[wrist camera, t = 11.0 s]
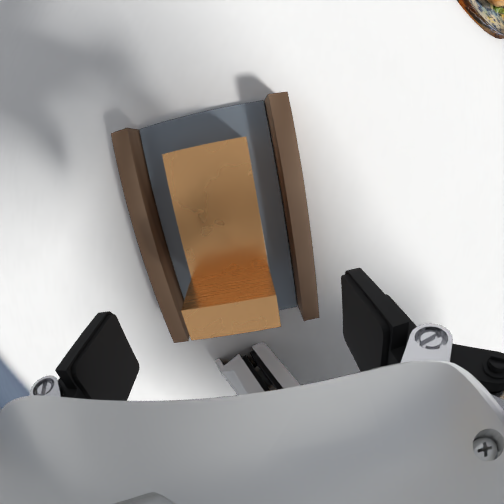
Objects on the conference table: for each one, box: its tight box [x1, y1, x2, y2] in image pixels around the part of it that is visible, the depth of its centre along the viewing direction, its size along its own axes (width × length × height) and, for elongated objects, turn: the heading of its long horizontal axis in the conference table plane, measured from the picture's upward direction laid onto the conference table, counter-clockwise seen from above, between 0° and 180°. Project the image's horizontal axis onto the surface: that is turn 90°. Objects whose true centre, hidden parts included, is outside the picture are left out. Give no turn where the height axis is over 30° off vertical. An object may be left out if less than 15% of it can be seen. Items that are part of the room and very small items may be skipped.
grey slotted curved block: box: [215, 342, 300, 395], centre depth 23 cm, size 17×5×10 cm, turn 23°
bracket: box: [162, 137, 281, 340], centre depth 17 cm, size 10×5×7 cm, turn 10°
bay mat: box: [140, 101, 297, 310], centre depth 20 cm, size 9×16×1 cm, turn 11°
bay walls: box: [111, 92, 319, 343], centre depth 19 cm, size 11×16×2 cm
